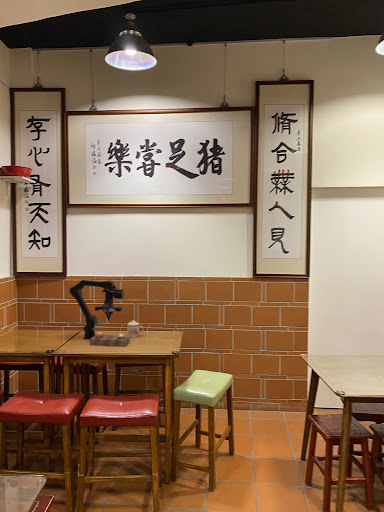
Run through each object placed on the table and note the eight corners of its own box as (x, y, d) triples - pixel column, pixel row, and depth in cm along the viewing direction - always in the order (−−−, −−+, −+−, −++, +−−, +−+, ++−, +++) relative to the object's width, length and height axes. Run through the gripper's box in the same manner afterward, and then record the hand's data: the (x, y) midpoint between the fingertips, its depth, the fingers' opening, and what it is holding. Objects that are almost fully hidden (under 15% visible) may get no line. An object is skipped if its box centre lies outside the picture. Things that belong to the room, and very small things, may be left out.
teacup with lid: (126, 337, 283) (127, 321, 282) (127, 334, 292) (127, 319, 291) (143, 337, 285) (143, 321, 284) (143, 334, 294) (143, 319, 293)
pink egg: (94, 342, 264) (94, 333, 264) (96, 340, 269) (97, 331, 269) (101, 342, 264) (101, 333, 263) (104, 340, 269) (104, 331, 269)
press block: (89, 345, 261) (89, 339, 261) (96, 340, 273) (96, 334, 273) (124, 346, 258) (125, 340, 258) (129, 342, 270) (129, 336, 270)
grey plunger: (115, 344, 262) (116, 335, 262) (118, 342, 268) (118, 333, 267) (123, 344, 262) (123, 335, 262) (125, 343, 267) (125, 333, 267)
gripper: (92, 299, 270) (91, 322, 271) (118, 300, 268) (118, 323, 269) (97, 297, 281) (97, 319, 282) (123, 298, 279) (123, 320, 280)
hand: (108, 320), depth 278 cm, fingers closed
